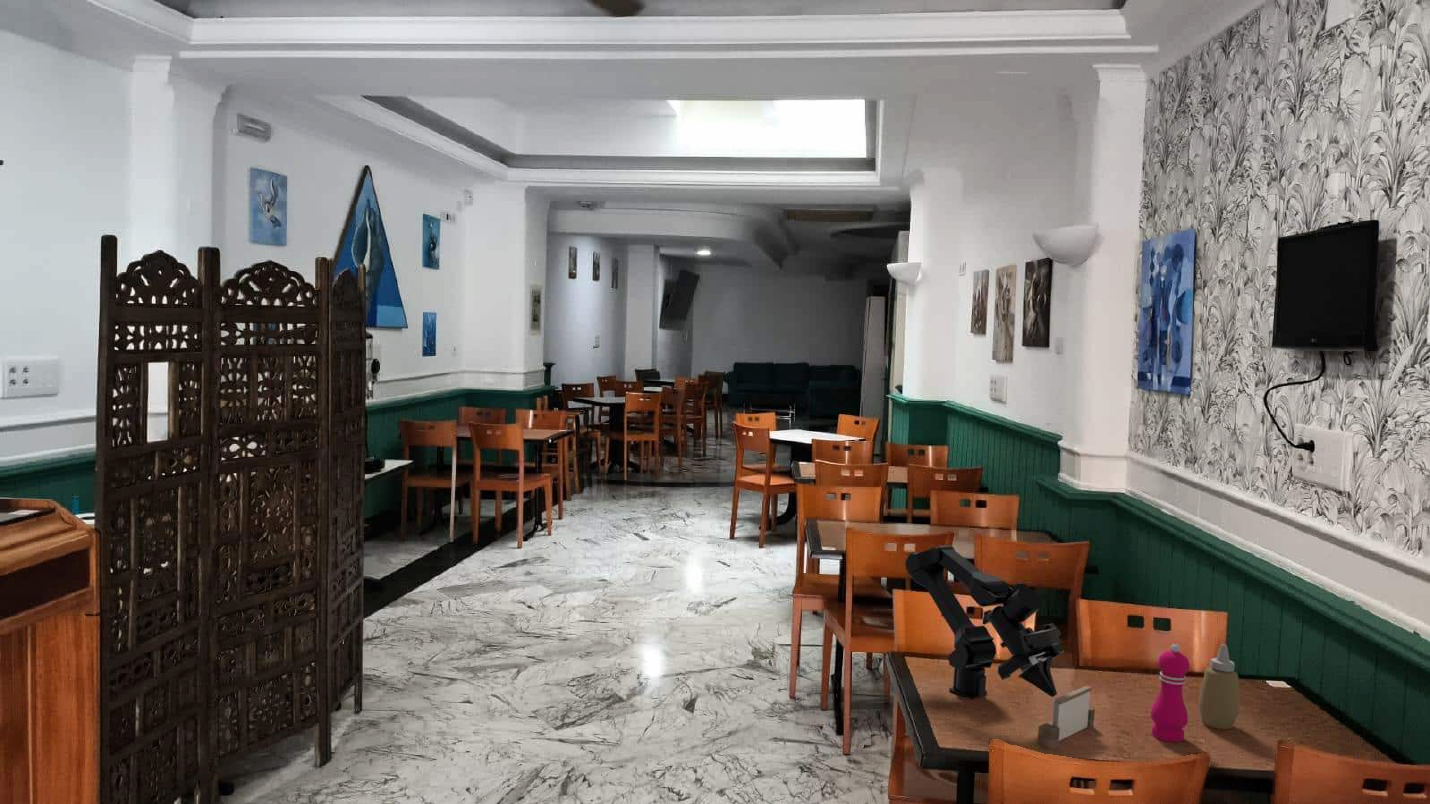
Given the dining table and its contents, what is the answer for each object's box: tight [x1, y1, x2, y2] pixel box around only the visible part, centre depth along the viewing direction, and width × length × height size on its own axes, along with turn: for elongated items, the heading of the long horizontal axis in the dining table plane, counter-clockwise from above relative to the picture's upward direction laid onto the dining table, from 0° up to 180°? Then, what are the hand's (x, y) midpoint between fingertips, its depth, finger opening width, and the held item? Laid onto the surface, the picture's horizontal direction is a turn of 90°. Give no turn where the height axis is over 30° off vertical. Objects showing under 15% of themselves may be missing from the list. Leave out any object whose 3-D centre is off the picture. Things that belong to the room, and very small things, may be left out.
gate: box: [1052, 685, 1092, 742], centre depth 207 cm, size 1×14×9 cm, turn 133°
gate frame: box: [1036, 706, 1096, 751], centre depth 207 cm, size 3×19×4 cm, turn 132°
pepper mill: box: [1150, 643, 1190, 743], centre depth 209 cm, size 7×7×20 cm
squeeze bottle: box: [1198, 643, 1240, 730], centre depth 217 cm, size 8×8×18 cm
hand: (1054, 695), depth 210 cm, fingers closed
